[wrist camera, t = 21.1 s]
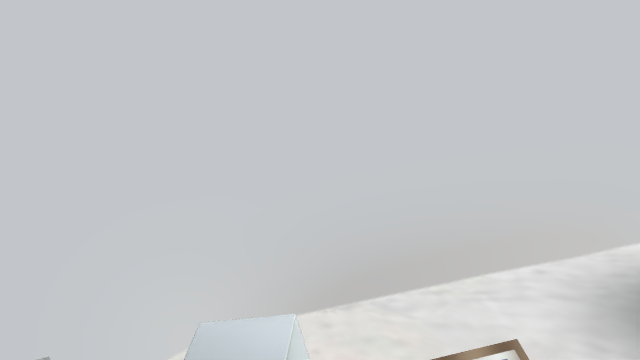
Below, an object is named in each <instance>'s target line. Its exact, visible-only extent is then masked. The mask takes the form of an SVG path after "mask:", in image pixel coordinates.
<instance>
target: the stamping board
mask: <svg viewBox="0 0 640 360" xmlns="http://www.w3.org/2000/svg"><path fill="white" fill-rule="evenodd" d="M432 360H529V358H528V357H527V355H526V353H525V352H524V350H523V348H522V347H521V345H520V343H519V342H518V340H517V339H515V340H511V341H507V342H502V343H498V344H494V345H490V346H486V347H482V348H478V349H473V350H469V351H465V352H461V353H457V354H453V355H449V356H444V357H440V358H436V359H432Z"/></svg>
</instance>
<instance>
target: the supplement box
mask: <svg viewBox="0 0 640 360" xmlns="http://www.w3.org/2000/svg"><path fill="white" fill-rule="evenodd" d="M184 360H310V357H309V354H308V351H307V348H306V345H305V342H304V339H303V335H302V332H301V329H300V326H299V323H298V320H297V317H296V314H286V315H277V316H267V317H257V318H247V319H235V320H225V321H213V322H202V323H199V326H198V328H197V330H196V333H195V335H194V337H193V340H192V342H191V344H190V347H189V349H188V351H187V354H186V356H185V359H184Z"/></svg>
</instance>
